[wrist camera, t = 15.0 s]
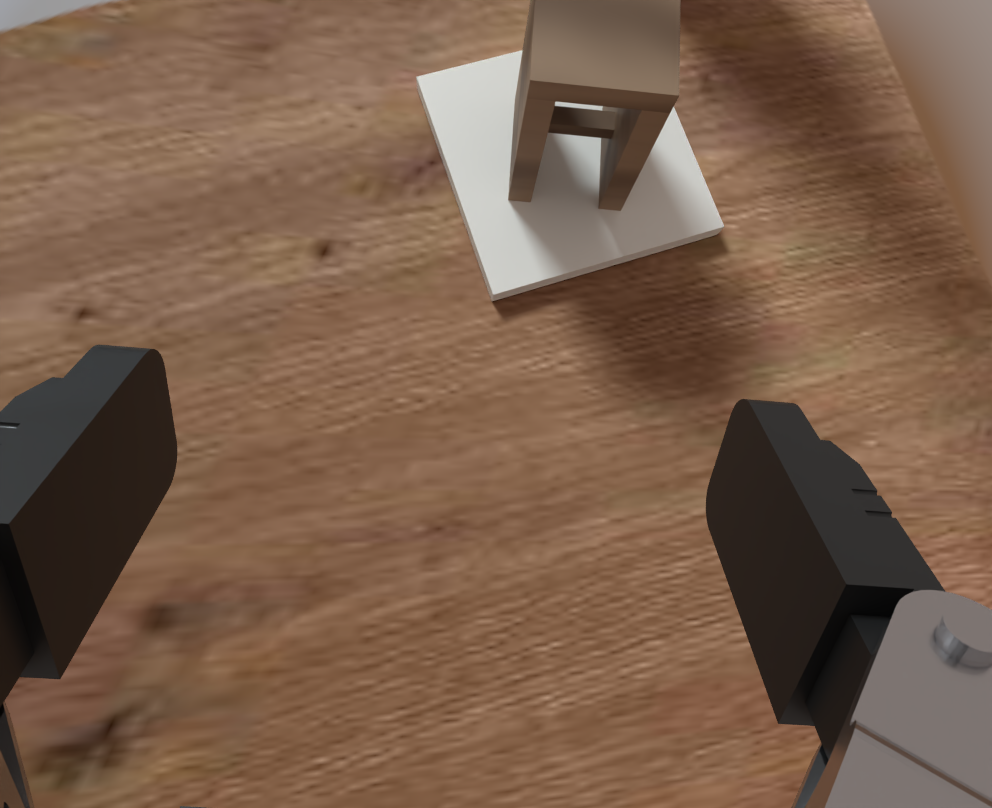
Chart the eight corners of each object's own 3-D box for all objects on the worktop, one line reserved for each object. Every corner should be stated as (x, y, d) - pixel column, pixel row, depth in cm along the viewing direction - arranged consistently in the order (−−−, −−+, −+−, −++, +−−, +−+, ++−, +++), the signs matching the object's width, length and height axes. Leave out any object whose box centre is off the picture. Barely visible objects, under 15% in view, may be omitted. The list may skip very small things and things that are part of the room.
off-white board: (491, 301, 39) (493, 294, 38) (416, 88, 42) (416, 76, 41) (717, 234, 41) (724, 226, 40) (633, 33, 43) (637, 21, 42)
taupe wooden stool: (620, 210, 40) (679, 95, 30) (508, 200, 40) (530, 80, 30) (624, 109, 41) (680, -32, 31) (515, 98, 41) (538, -49, 31)
